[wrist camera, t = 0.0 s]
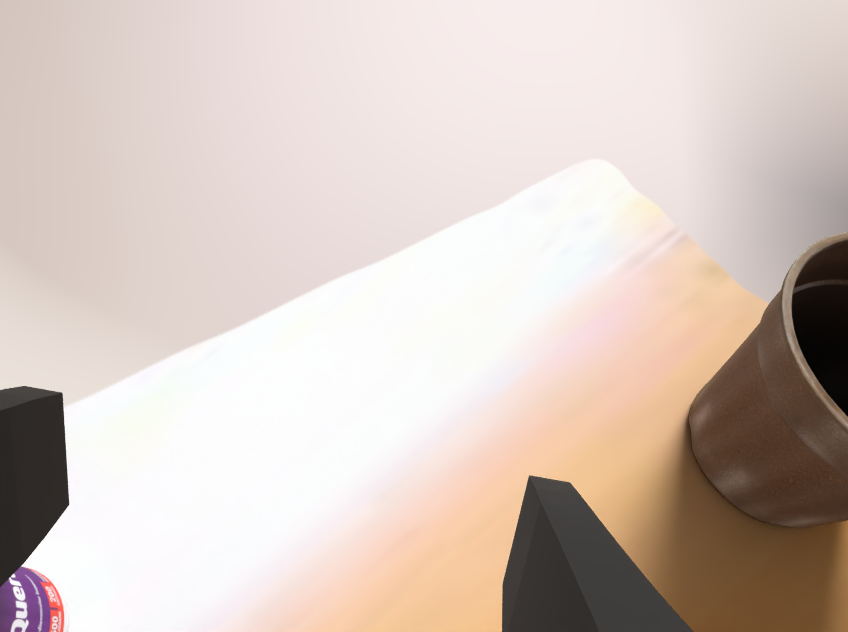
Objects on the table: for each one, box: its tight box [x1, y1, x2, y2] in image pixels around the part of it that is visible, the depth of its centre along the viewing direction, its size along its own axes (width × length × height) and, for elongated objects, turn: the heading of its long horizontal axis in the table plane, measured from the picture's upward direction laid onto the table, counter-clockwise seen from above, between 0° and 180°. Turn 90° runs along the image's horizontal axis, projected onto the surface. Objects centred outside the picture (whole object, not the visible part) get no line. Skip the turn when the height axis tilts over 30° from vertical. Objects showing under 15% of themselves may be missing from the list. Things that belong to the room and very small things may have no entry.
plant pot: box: [688, 232, 848, 528], centre depth 37 cm, size 16×16×16 cm
